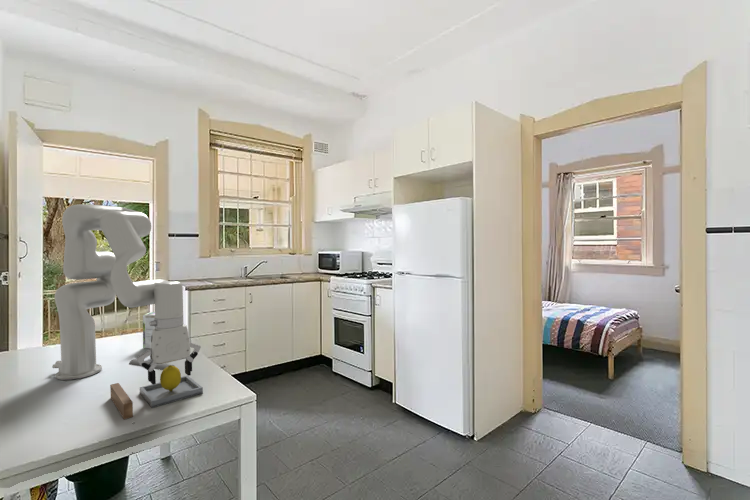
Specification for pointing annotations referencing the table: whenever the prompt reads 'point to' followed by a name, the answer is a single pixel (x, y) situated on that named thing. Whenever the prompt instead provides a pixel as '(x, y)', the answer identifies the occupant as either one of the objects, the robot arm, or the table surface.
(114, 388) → the walnut wall
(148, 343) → the syrup box
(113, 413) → the table surface
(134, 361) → the half round rod
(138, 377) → the table surface
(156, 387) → the gray tray
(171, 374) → the lemon
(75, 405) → the table surface
